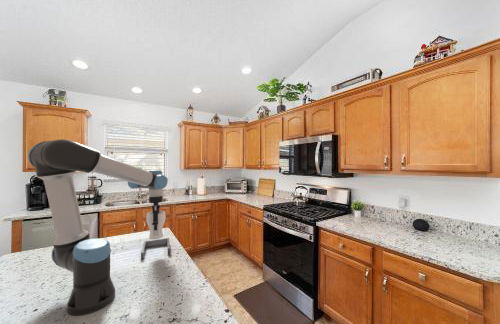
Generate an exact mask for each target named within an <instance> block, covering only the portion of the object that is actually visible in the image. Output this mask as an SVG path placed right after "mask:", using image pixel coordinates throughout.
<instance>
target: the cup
mask: <svg viewBox="0 0 500 324" xmlns="http://www.w3.org/2000/svg"><path fill="white" fill-rule="evenodd" d="M145 218H146V219H145V220H146V224H147V227H148V228H149V236H148V240H157V239H163V237H164V231H163V227H164V225H165V222H166V218H167V217H166V212H165V211H164V210H159V213H158V236H153V225H152V224H153V210H151V211H149V212H147V213H146V217H145Z"/></svg>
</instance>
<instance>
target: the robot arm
mask: <svg viewBox="0 0 500 324" xmlns="http://www.w3.org/2000/svg"><path fill="white" fill-rule="evenodd" d="M27 159H28V162H29V164H30V165H31V166H32V167H34V169H35V173H36V177H37V178H38V179H41V180H42V181H43V184H44V187H45V191H46V196H47V199H48V200H47V201H48V206H49V209H50V213H51V217H52V218H51V219H52V223H53V226H54V227H53V228H54V231H55V235H56V238H55V239H54V240H53V241H52V245H53V248H52V251H51V259H52V261H53V263H54V264H55V265H56V266H58V267H60V268H62V269H65V270H67V271H70V272H71V273H72V275H73V279H72V280H73V282H72V284H73V286H72V287H73V288H72V290H71V293H70V295H69V297H68V301H67V304H66V312H67V313H68V315H71V316H82V315H87V314H91V313H94V312H96V311H98V310H99V311H100V310H101V309H102V308H105V307H106V306H107V305H109V304H110V303H111V302H112V301H114V299H115V298H116V288H115V285H114V283H113V280H112V278H111V251H112V249H111V244H110V242H109V240H107V239H105V238H101V237H100V238H91V235H90V233H89V230H86V229H84V226H83V221H82V216H81V211H80V207H79V201H78V197H77V193H76V192H77V191H76V188H75V183H74V182H75V181H74V178H73V176H74V174H76V173H77V172H83V173H86V174H90V173H96V174H99V175H103V176H107V177H111V178H114V179H119V180H121V181H125V182H127V185H128V187H129V188H130V189H136V190H137V189H148V203H149V204H152V205H151V206H152V211H153V224H152V225H153V236H158V213H159V211H160V203H162V202H163V200H164V197H163V192H164V189H165V188H166V187H167V186H168V182H169V181H168V178H167V176H165V175H164V174H163V171H162V170H161V169H154V170H153V169H151V170H145V169H142V168H140V167H136V166H134V165H132V164H128V163H126V162H123V161H120V160H118V159H116V158H115V159H114V158H111V157H109V156H106V155H104V154H101V152H100V151H99V150H97V149H94V148H92V147H89V146H87V145H84V144H81V143H79V142H76V141H73V140H70V139H62V138H61V139H54V140H44V141H41V142H39V143H37V144H34V145H32V147H31V148H30V149H29V151H28V153H27Z"/></svg>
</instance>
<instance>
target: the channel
mask: <svg viewBox="0 0 500 324" xmlns="http://www.w3.org/2000/svg"><path fill="white" fill-rule="evenodd" d="M170 242H171V241H170V237H166V238H160V239H154V240H152V239H149V240H144V241H143V244H142V248H141V251H140V260H141V261H142V260H144V259H145V253H146V249H147V248H152V247H154V248H155V247H160V246H167V256H170V255H171V247H170V246H171V245H170Z"/></svg>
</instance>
